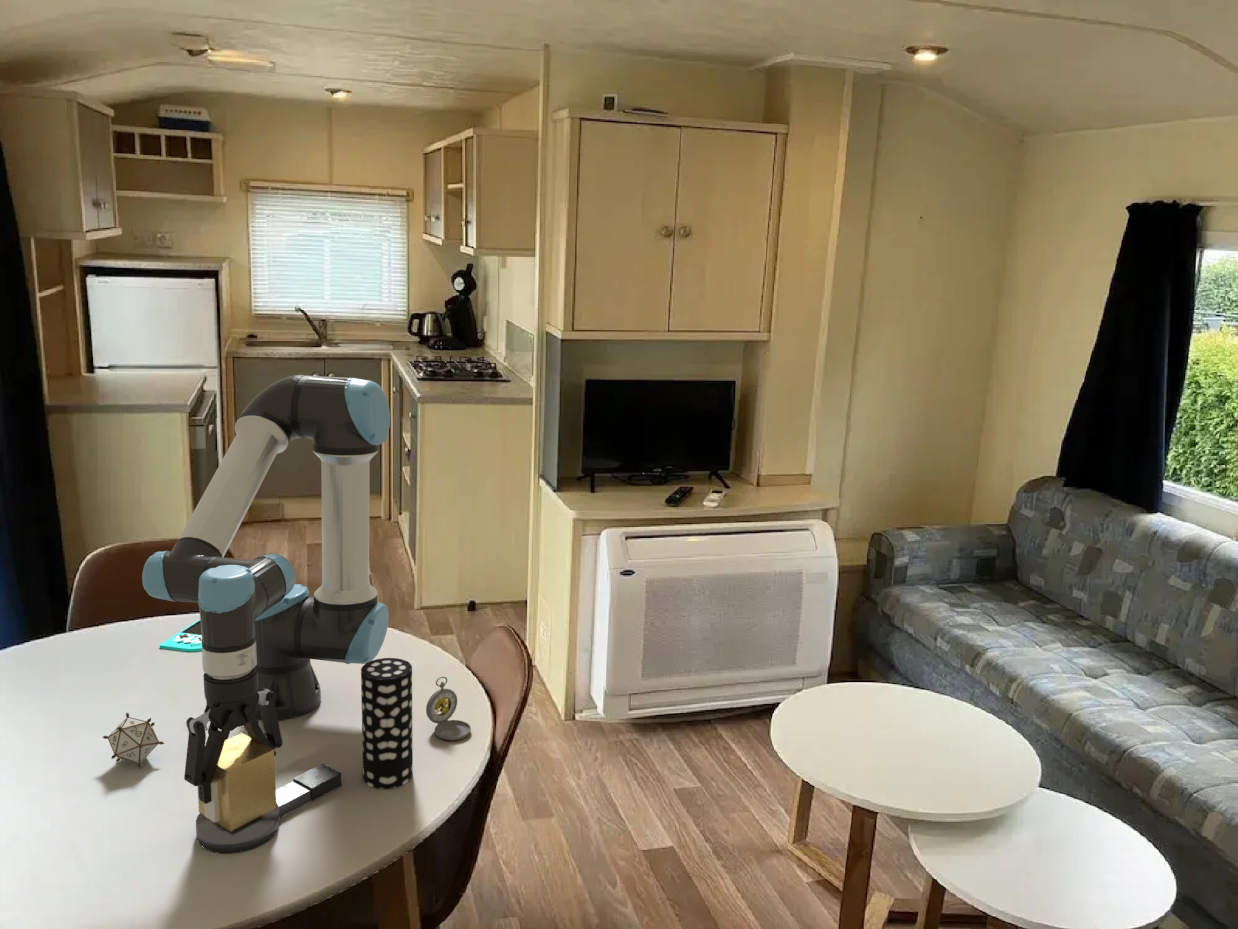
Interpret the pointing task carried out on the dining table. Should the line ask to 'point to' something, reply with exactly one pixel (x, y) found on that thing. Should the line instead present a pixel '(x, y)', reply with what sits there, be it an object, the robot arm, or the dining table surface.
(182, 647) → the handheld game console
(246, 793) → the golden tan block
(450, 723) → the pocket watch
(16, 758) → the dining table surface
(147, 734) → the game die
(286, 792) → the grey handled disc
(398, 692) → the white-spotted black cylinder
